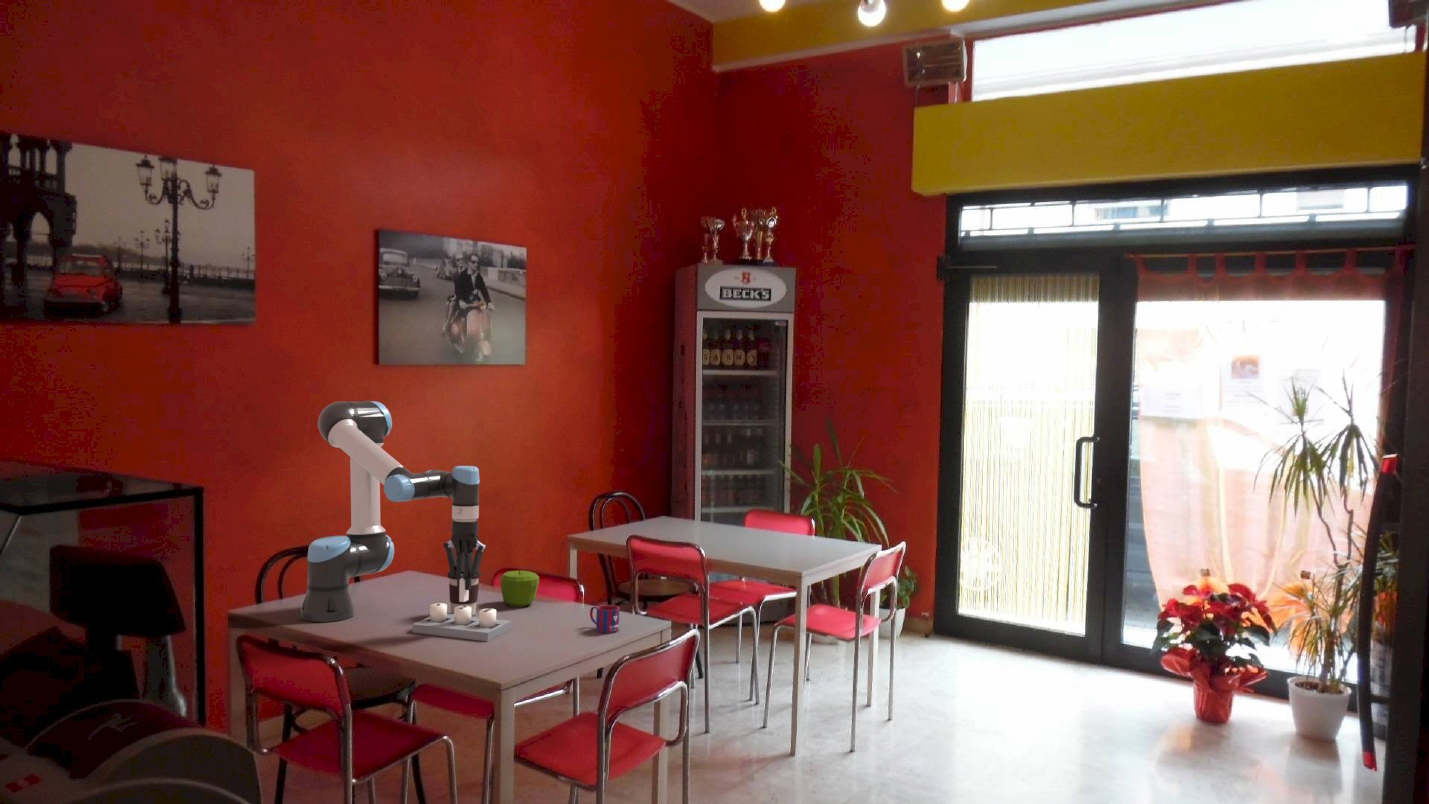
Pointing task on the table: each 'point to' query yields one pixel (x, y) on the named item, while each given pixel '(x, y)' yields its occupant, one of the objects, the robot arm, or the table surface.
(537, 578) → the apple
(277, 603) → the table surface
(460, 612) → the button
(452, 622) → the console
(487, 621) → the button
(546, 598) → the table surface
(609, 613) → the cup
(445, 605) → the button
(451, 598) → the coffee cup
